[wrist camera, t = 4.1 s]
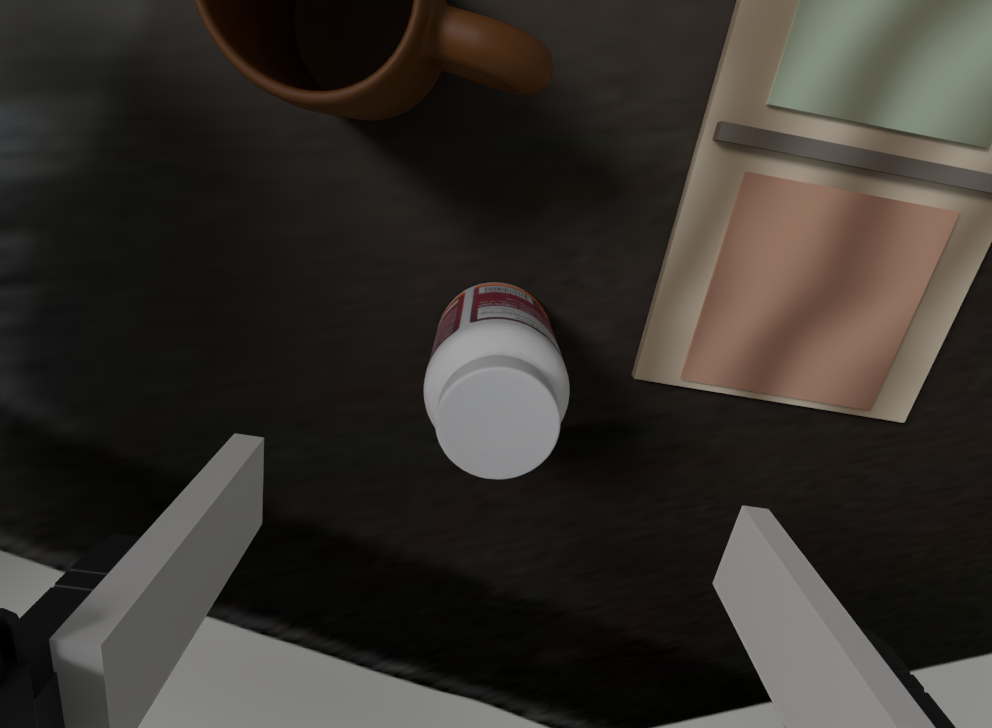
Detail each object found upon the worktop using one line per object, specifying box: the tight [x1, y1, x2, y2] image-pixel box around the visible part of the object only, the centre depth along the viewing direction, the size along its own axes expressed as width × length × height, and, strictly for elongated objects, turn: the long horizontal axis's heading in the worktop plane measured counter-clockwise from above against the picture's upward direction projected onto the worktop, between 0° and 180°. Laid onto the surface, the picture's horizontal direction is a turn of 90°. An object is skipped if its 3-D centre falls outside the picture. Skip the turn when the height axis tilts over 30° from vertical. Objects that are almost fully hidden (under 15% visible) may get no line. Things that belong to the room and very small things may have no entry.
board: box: [631, 0, 992, 423], centre depth 27 cm, size 16×26×1 cm, turn 170°
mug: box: [194, 0, 553, 120], centre depth 22 cm, size 12×8×9 cm, turn 72°
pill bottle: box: [424, 282, 570, 479], centre depth 26 cm, size 6×6×11 cm
